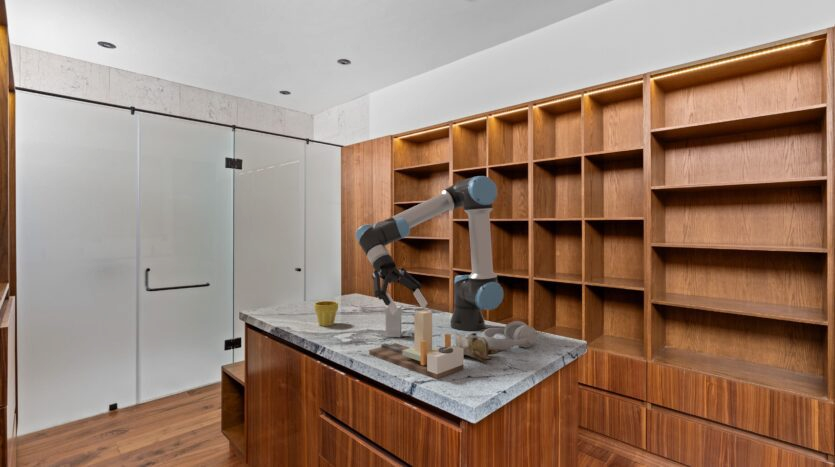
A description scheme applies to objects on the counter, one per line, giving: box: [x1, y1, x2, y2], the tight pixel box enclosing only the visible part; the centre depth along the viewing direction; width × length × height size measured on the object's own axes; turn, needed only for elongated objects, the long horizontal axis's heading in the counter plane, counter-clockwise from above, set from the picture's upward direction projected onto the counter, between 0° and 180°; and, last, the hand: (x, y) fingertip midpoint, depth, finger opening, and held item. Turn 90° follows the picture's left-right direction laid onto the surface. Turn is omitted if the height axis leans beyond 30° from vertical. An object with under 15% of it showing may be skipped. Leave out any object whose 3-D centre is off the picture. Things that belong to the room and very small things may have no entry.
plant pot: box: [314, 300, 339, 327], centre depth 182 cm, size 10×10×10 cm
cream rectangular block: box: [427, 345, 464, 374], centre depth 122 cm, size 4×12×6 cm, turn 134°
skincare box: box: [384, 305, 402, 338], centre depth 163 cm, size 6×4×12 cm
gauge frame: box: [421, 333, 452, 365], centre depth 125 cm, size 1×12×7 cm, turn 134°
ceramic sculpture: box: [455, 332, 502, 362], centre depth 136 cm, size 11×9×15 cm
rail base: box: [368, 342, 464, 380], centre depth 132 cm, size 32×12×2 cm, turn 44°
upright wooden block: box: [402, 309, 439, 361], centre depth 129 cm, size 10×9×15 cm
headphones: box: [481, 320, 538, 351], centre depth 152 cm, size 18×8×20 cm
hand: (410, 309), depth 133 cm, fingers open, 13 cm apart
